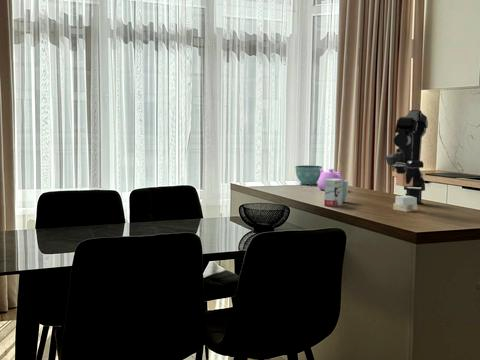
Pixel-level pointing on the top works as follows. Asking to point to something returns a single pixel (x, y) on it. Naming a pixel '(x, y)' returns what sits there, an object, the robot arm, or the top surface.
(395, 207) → the tower base
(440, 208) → the top surface
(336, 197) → the ink box
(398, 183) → the cube
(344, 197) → the cup
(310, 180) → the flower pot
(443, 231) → the top surface
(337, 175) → the teapot
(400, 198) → the tower top
